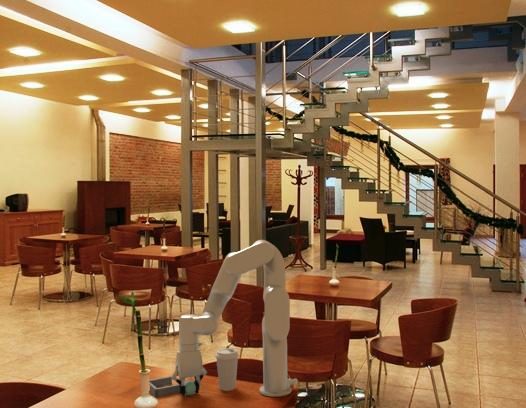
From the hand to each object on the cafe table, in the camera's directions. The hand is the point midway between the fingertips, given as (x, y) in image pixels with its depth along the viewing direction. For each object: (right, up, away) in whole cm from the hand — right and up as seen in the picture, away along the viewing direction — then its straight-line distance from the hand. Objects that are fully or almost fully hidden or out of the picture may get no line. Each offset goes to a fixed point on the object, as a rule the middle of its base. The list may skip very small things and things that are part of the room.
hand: (189, 393), depth 211 cm
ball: (0, +2, 0) cm, 2 cm away
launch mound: (-1, -13, +12) cm, 17 cm away
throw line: (-9, -1, +7) cm, 12 cm away
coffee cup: (+14, -1, +7) cm, 16 cm away
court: (-11, -1, +6) cm, 13 cm away
